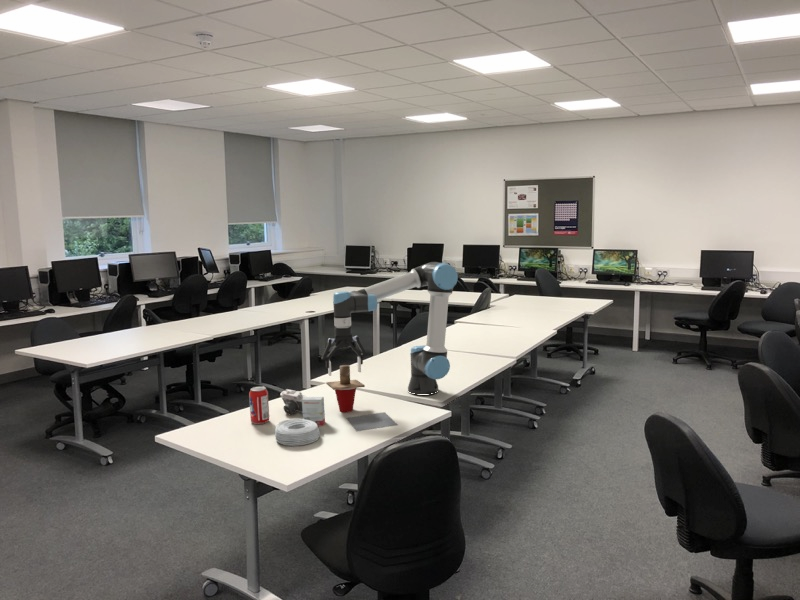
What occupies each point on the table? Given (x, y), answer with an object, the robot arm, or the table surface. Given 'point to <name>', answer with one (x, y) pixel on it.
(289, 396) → the camera
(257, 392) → the soda can
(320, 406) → the ink box
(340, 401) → the plastic cup
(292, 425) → the cable
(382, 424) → the mat
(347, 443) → the table surface
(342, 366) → the lid
